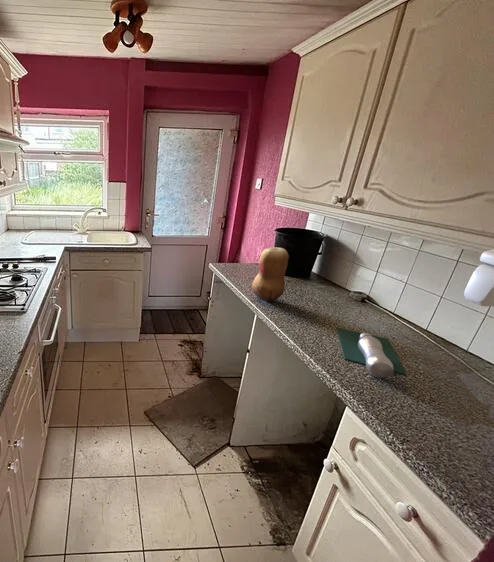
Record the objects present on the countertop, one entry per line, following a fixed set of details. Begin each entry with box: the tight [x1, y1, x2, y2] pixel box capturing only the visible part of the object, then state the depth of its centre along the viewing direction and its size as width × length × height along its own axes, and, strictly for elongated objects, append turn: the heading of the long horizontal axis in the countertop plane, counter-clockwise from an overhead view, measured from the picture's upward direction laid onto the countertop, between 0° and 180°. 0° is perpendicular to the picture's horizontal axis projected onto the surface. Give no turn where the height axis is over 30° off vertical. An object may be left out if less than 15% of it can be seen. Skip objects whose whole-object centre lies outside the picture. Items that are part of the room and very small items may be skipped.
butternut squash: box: [251, 246, 290, 302], centre depth 142 cm, size 14×13×25 cm
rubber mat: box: [336, 326, 407, 376], centre depth 109 cm, size 24×16×1 cm, turn 152°
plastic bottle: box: [358, 332, 394, 379], centre depth 100 cm, size 6×7×20 cm
